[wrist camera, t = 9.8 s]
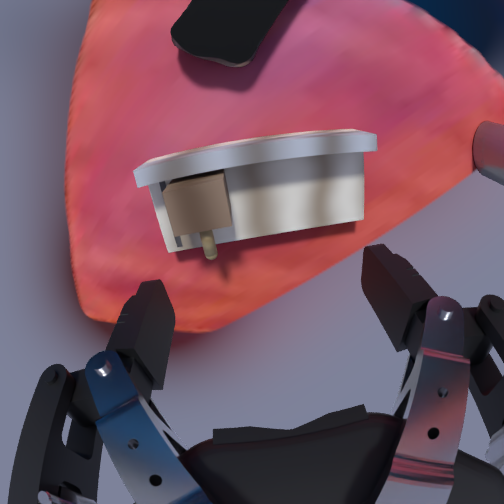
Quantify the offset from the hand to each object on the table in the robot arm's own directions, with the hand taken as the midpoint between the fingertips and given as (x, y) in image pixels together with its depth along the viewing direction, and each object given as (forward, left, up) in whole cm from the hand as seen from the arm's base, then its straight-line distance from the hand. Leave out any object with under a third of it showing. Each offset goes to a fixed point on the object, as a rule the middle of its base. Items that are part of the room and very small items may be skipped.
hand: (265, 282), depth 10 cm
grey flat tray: (-2, +2, -20) cm, 20 cm away
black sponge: (-3, -19, -20) cm, 28 cm away
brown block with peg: (+4, +3, -17) cm, 18 cm away
